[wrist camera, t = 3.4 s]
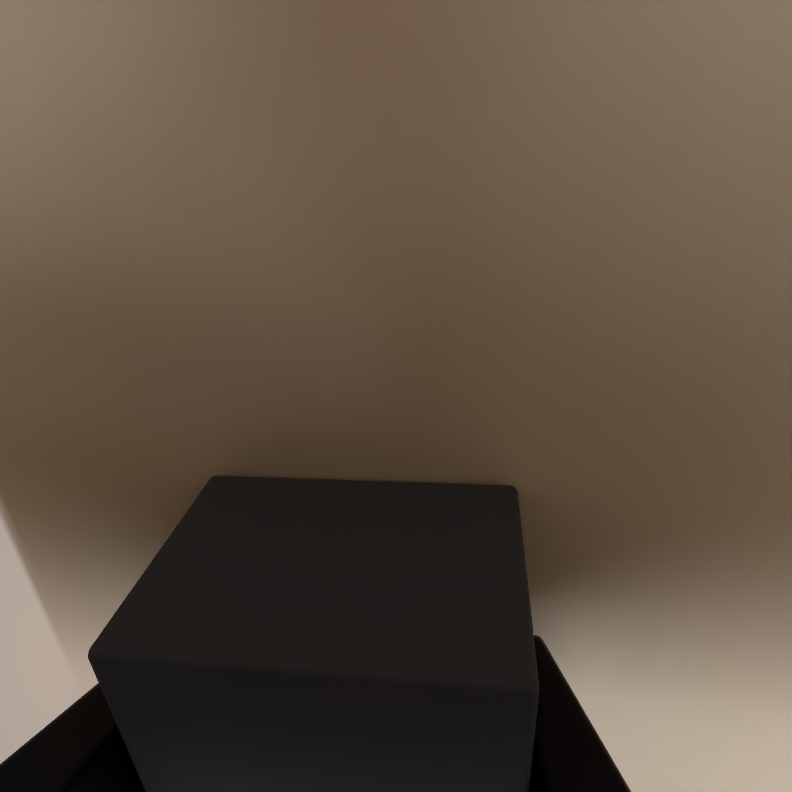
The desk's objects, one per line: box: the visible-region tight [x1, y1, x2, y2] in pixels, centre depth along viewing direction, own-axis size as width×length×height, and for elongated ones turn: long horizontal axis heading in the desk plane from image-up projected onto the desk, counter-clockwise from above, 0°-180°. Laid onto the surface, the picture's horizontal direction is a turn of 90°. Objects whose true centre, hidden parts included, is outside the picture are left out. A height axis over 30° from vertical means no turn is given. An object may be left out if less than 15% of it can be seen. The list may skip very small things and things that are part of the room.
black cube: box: [88, 476, 539, 792], centre depth 9 cm, size 5×5×4 cm
